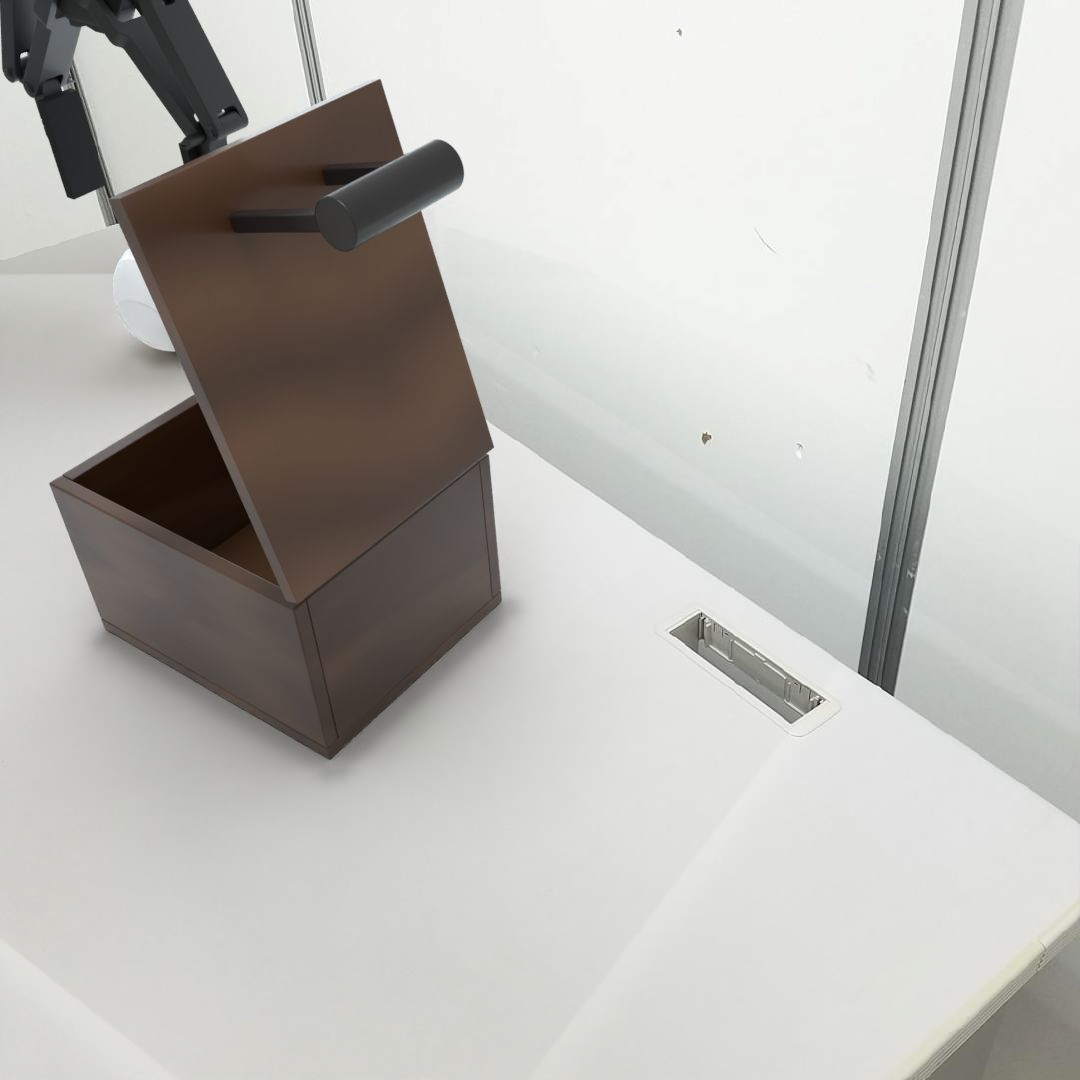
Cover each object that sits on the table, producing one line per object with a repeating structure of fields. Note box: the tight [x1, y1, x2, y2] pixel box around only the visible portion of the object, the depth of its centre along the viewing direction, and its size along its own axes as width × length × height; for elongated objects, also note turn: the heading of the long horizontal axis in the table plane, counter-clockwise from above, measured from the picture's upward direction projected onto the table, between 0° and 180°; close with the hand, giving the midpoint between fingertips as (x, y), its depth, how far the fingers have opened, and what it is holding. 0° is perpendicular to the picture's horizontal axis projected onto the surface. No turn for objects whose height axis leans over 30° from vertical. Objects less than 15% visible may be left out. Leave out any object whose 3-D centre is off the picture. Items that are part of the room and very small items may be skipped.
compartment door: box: [107, 78, 495, 603], centre depth 50 cm, size 18×14×8 cm
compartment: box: [48, 393, 503, 760], centre depth 64 cm, size 17×14×10 cm
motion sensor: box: [112, 247, 176, 352], centre depth 87 cm, size 8×8×8 cm
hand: (152, 214), depth 82 cm, fingers open, 13 cm apart
